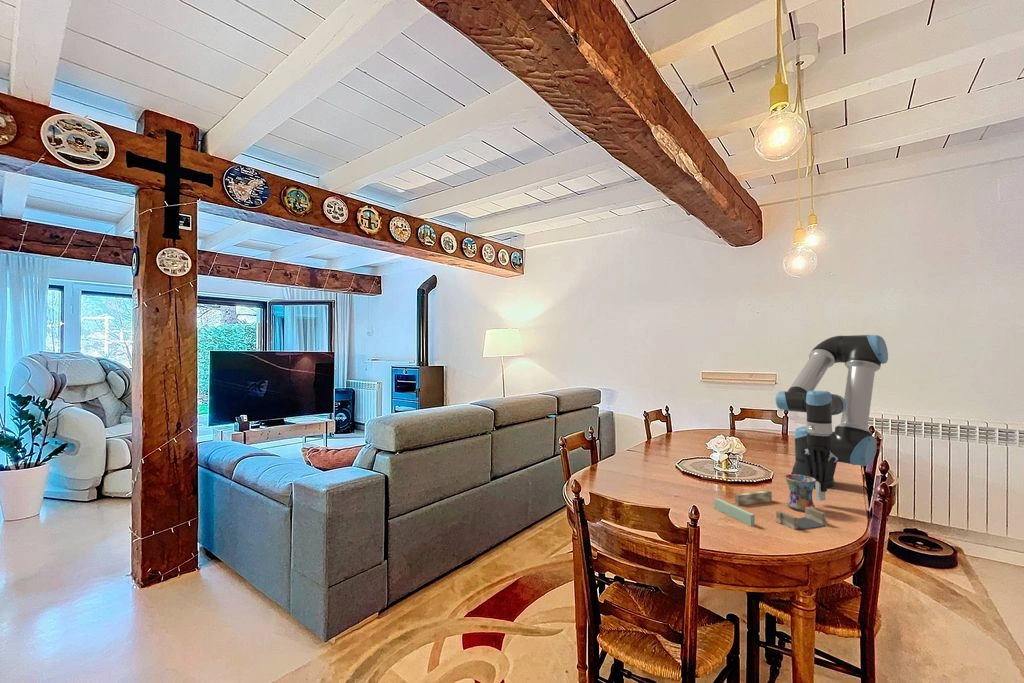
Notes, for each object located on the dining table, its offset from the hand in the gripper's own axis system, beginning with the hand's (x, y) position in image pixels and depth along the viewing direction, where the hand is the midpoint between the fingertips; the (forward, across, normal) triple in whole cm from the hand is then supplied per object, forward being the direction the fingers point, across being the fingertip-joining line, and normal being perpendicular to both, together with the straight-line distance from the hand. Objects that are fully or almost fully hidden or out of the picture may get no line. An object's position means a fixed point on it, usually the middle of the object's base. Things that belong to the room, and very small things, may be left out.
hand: (820, 499), depth 159 cm
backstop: (+2, 0, -38) cm, 38 cm away
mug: (+2, 0, -9) cm, 9 cm away
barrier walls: (+2, +2, -21) cm, 21 cm away
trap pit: (+2, +11, -22) cm, 24 cm away
